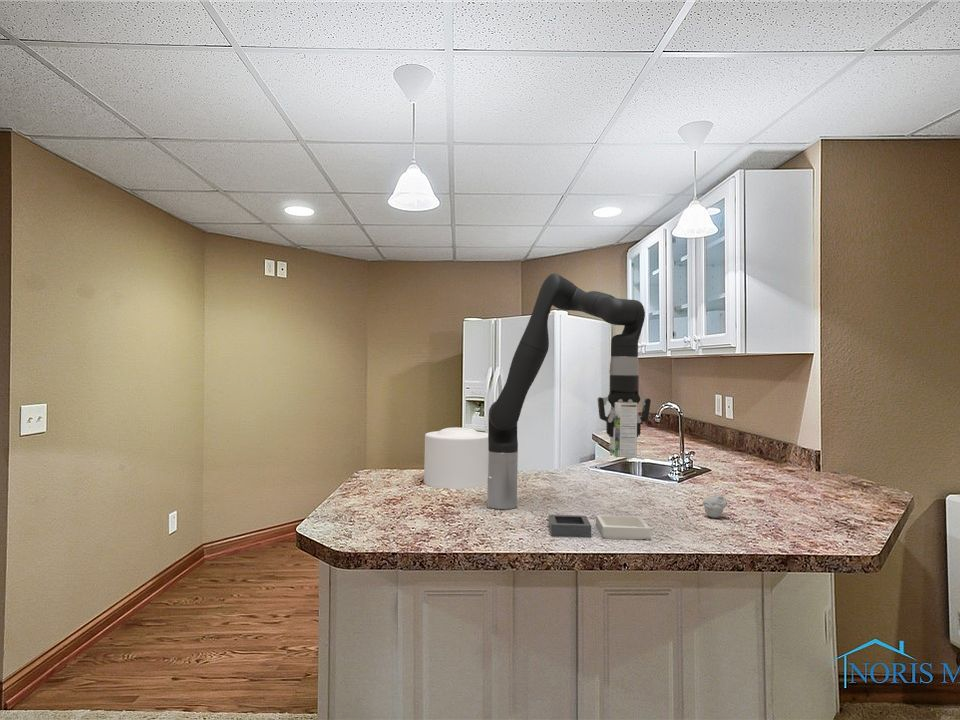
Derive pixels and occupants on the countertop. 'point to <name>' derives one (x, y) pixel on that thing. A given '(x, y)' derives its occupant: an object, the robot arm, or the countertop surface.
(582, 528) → the socket
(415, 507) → the countertop surface
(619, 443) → the syrup box
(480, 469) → the container
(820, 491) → the countertop surface
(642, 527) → the tray
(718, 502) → the frog figurine
